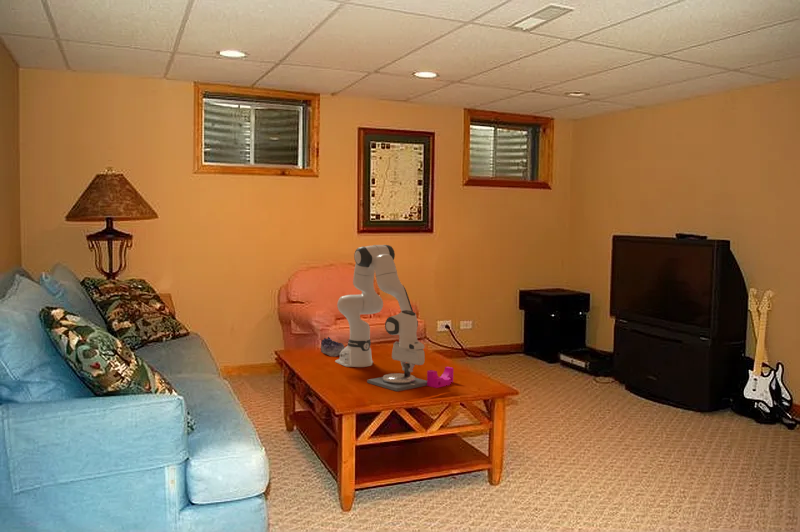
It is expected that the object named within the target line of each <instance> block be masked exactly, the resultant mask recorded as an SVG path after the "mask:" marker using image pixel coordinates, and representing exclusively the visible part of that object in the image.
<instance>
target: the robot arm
mask: <svg viewBox="0 0 800 532" xmlns="http://www.w3.org/2000/svg"><path fill="white" fill-rule="evenodd" d="M395 256H396V254H395V250H394V248H393V246H391V245H389V244H373V245H367V246H366V245H365V246H361V247H357V248H356V249H355V252H354V253H353V258H354V262H355V265H354V270H353V271H354V272H353V279H352V285H353V286H354V288H355V289H357V291H358V290H359V291H361V293H359V294H346V295H342V296H340V297H339V298H338V300H337V305H336V307H337V309H338V311H339V313H340V314H341V315H343V316H344V317H345V318H346V320H347V322H348V326H349V339H348V340H346V342H347V346H344V349H343V350H342V351H341V352H340V355H339V358H338V359H336V360H335V361H334V362H335V363H337V364H339V365H342V366H344V367H346V368H347V367H348V368H350V367H351V368H352V367H355V368H365V367H371V366H373V363H374V360H373V358H372V348H371V344H372V343H371V342H372V341H371V338H370V337H371V326H370V325H369V324H370V323H368V322H366V321H365V320H363V319H362V318H361V315H374V314H378V313H380V312H382V310H383V307H384V301H383V299H382V297H381V296H380V294H378V293H377V292H376V290H375V287H374V286H375V285H374V281H375V279H376V284H377V286H378V289H379V290H380V291H382V292H383V293H385V294H388V295H390V296H392V297H393V298H395V299H396V300H397V301H398V305H399V309H400V312H399V313H398V314H395V315H391V316H388V317H387V318H386V320H385V322H384V328H385V331H386V332H387V334H388V335H391V336H398V337H399V339H398V341H397V340H396V341H395V342H393V347H392V351H391V358H392V361H393V360H394V361H399V362H400V364H401V370H402V371H404V363H410V368H408V372H410V373H413V372H414V368H415V365H416V366H423V365H424V363H425V358H426V357H425V351H424V349H425V344H424V343H423V342H420V341H419V340H418V335H417V331H418V327H419V322H418V318H417V314H416V312H415V311H414V310H413V306H412V304H411V301H410V298H409V295H408V294H409V293H408V292H407V289H406V288H405V286H404V284H402V282H401V280H400V278H399V275H398V270H397V268H396V263H395V261H394V260H395ZM375 277H376V278H375Z"/></svg>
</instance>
